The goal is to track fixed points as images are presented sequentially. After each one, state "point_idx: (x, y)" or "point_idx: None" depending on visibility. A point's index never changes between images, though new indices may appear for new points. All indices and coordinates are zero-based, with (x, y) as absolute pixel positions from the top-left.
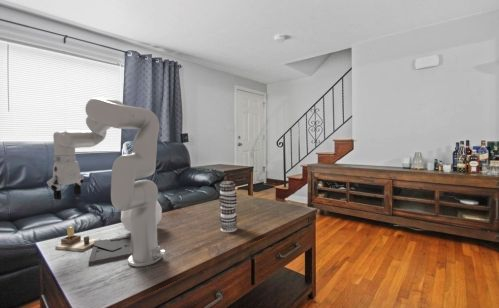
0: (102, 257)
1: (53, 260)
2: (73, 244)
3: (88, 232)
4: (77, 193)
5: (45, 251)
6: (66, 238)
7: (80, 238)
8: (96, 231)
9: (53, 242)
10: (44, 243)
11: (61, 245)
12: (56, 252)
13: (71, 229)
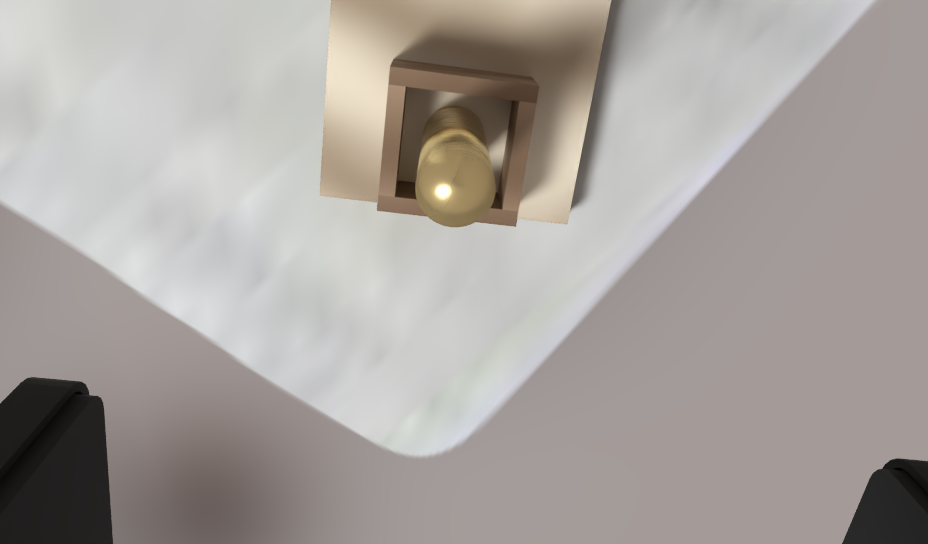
0: None
1: (835, 3)
2: (519, 51)
3: (96, 206)
4: (93, 488)
5: (619, 264)
6: None
7: (395, 62)
8: (40, 127)
9: (412, 364)
10: (441, 425)
11: (547, 174)
12: (646, 133)
13: (475, 148)
